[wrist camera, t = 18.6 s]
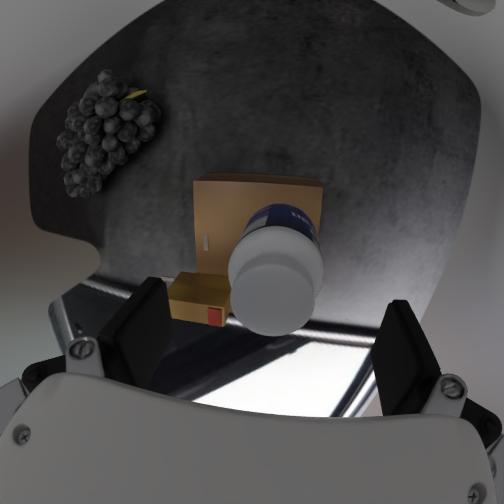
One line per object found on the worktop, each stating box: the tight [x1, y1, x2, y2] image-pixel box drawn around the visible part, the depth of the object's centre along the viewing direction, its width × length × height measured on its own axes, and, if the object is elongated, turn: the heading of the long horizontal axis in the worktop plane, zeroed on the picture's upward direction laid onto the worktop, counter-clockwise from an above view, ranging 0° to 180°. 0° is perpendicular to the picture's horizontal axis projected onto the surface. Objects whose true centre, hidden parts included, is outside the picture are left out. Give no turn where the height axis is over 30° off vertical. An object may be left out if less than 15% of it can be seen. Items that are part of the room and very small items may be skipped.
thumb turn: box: [167, 272, 232, 326], centre depth 22 cm, size 5×2×5 cm, turn 87°
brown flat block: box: [161, 173, 323, 313], centre depth 25 cm, size 14×14×5 cm
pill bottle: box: [228, 202, 324, 336], centre depth 17 cm, size 5×5×10 cm
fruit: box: [56, 69, 161, 199], centre depth 21 cm, size 9×8×15 cm
